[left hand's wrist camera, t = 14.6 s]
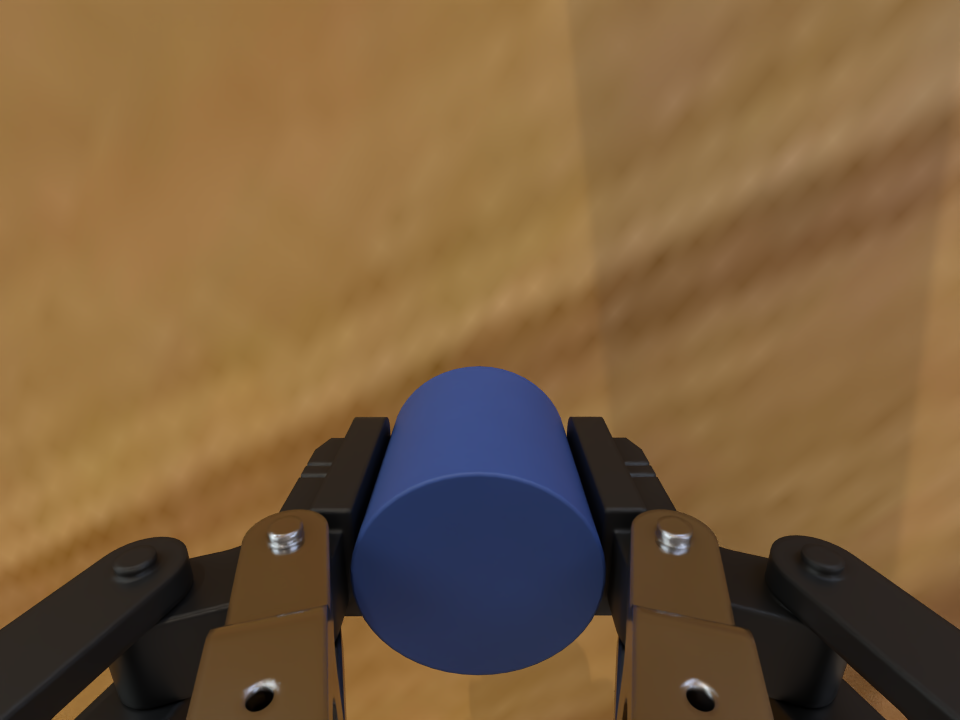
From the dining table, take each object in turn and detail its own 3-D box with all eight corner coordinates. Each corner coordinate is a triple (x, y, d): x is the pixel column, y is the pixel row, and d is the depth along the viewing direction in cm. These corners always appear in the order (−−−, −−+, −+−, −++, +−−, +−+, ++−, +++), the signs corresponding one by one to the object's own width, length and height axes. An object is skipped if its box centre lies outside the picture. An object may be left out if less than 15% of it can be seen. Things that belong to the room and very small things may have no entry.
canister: (462, 330, 12) (452, 422, 7) (600, 432, 12) (661, 565, 8) (359, 458, 13) (300, 600, 9) (492, 543, 14) (498, 710, 9)
